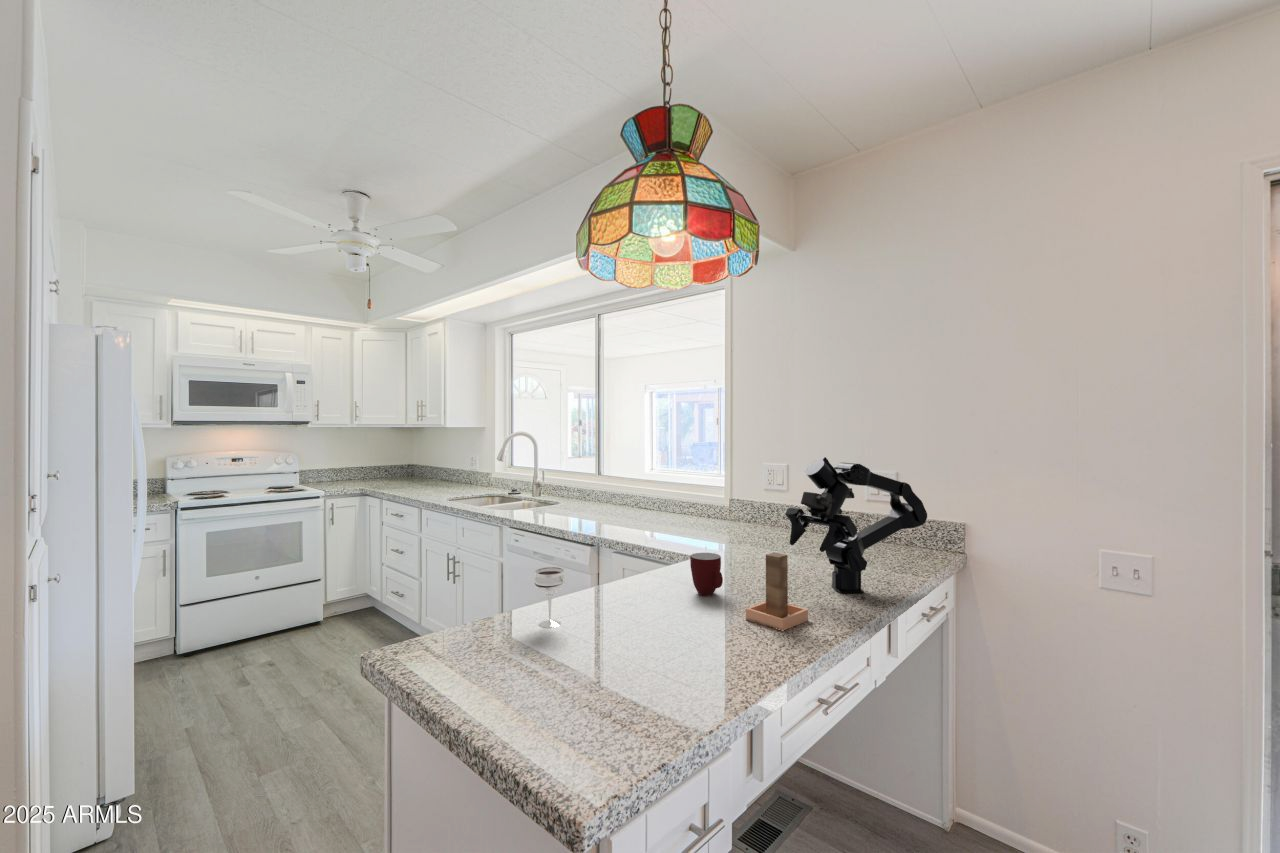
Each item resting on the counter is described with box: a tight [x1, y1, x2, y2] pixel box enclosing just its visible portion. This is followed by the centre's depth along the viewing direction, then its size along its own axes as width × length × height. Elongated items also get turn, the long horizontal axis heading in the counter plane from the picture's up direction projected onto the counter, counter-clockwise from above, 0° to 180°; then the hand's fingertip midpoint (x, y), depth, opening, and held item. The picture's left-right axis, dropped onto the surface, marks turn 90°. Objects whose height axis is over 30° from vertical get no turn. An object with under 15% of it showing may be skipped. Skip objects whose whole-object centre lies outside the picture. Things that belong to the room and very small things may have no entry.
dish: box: [745, 600, 809, 631], centre depth 125 cm, size 10×10×2 cm
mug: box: [689, 552, 724, 597], centre depth 144 cm, size 11×8×10 cm
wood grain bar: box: [765, 551, 789, 618], centre depth 125 cm, size 5×5×14 cm
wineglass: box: [534, 566, 565, 629], centre depth 124 cm, size 7×7×12 cm
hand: (805, 547), depth 139 cm, fingers open, 9 cm apart
